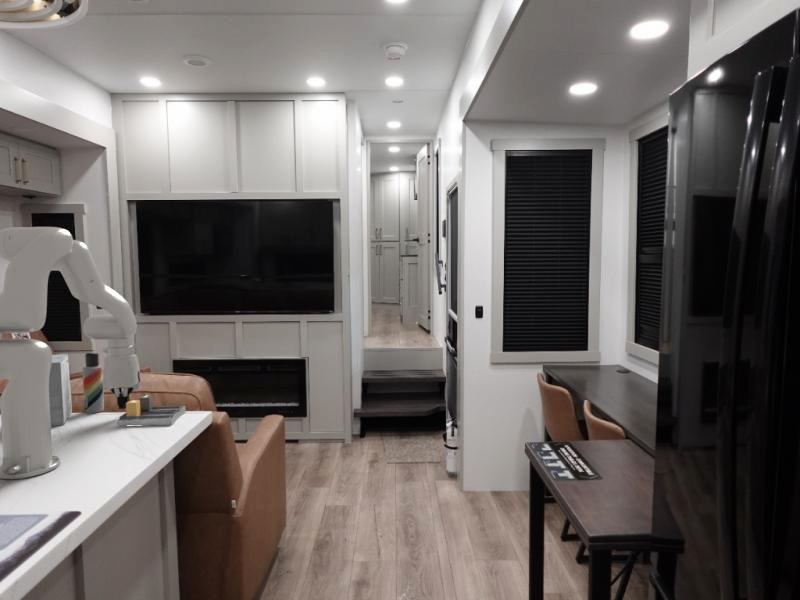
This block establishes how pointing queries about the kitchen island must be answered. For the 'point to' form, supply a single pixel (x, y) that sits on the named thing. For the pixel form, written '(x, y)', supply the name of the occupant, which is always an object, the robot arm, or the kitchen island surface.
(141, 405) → the fader
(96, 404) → the lotion bottle
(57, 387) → the hard drive box
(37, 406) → the robot arm
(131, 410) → the fader
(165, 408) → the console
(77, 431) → the kitchen island surface
